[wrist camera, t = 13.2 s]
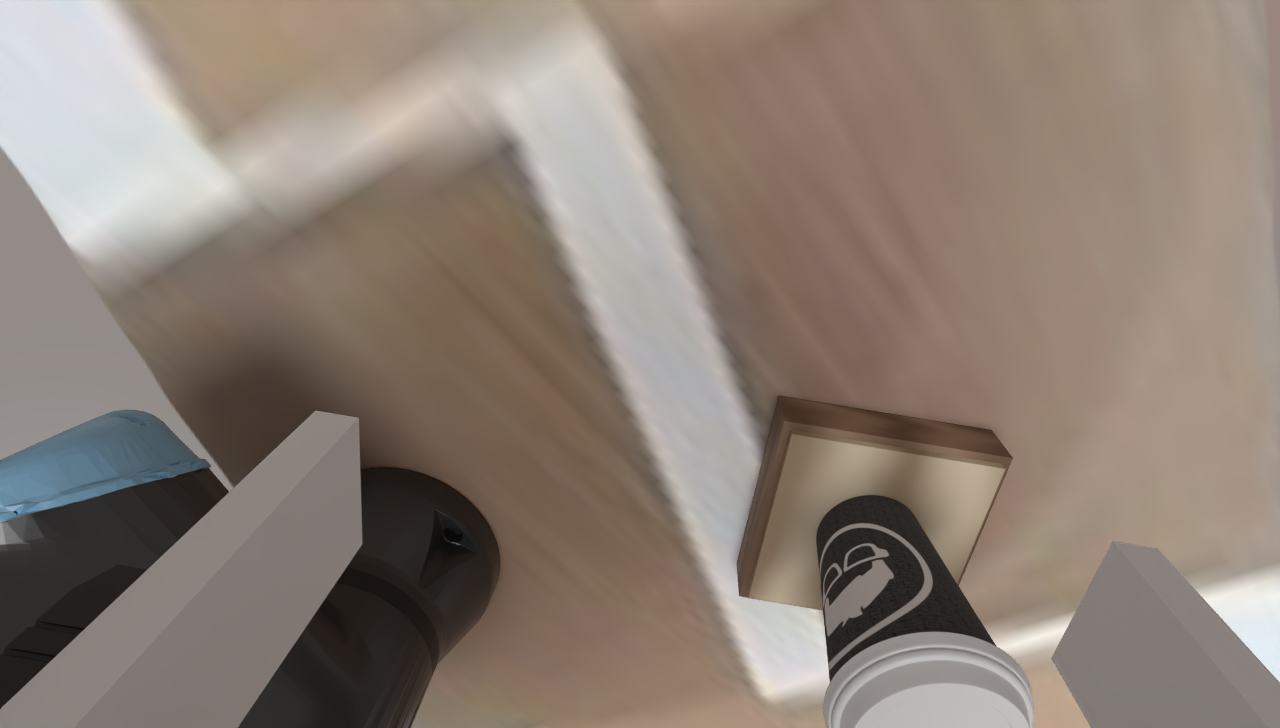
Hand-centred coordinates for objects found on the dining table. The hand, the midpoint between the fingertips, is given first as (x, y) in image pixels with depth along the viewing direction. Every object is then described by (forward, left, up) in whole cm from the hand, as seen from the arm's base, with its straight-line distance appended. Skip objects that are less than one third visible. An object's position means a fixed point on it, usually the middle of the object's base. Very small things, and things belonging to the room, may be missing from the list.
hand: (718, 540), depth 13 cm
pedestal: (+14, -19, -32) cm, 40 cm away
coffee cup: (+14, -19, -28) cm, 37 cm away
